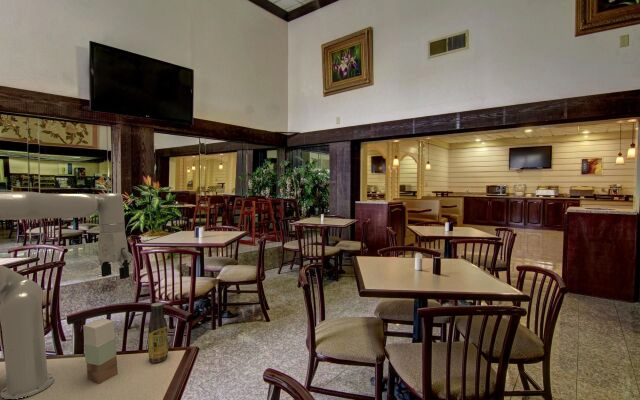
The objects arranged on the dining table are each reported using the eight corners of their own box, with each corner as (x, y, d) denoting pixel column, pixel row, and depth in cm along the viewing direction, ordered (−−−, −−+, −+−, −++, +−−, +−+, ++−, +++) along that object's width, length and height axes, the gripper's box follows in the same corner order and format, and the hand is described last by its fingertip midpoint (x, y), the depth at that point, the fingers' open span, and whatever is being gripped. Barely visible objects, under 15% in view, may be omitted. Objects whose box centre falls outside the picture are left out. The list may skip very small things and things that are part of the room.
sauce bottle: (154, 366, 116) (150, 309, 115) (145, 360, 119) (142, 305, 118) (172, 357, 121) (169, 303, 120) (163, 352, 125) (160, 300, 124)
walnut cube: (87, 379, 109) (86, 361, 108) (106, 370, 114) (105, 353, 114) (99, 384, 106) (98, 365, 106) (117, 374, 111) (116, 356, 111)
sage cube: (85, 362, 108) (84, 344, 107) (103, 353, 113) (101, 336, 113) (99, 365, 106) (98, 346, 105) (116, 355, 111) (115, 338, 111)
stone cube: (84, 343, 108) (83, 325, 108) (103, 335, 113) (102, 318, 113) (96, 346, 105) (95, 328, 105) (114, 338, 111) (113, 320, 110)
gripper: (85, 229, 118) (89, 277, 119) (118, 230, 110) (121, 282, 111) (107, 226, 124) (110, 272, 125) (138, 227, 117) (141, 276, 118)
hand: (115, 276), depth 118 cm, fingers open, 9 cm apart
